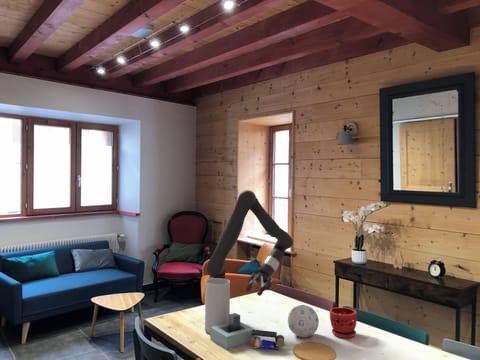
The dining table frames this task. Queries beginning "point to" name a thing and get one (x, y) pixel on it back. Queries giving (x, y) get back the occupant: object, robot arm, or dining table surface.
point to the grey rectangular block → (233, 322)
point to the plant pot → (343, 322)
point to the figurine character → (266, 343)
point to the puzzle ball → (303, 321)
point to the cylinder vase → (216, 302)
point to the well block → (231, 336)
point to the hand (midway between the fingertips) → (252, 292)
